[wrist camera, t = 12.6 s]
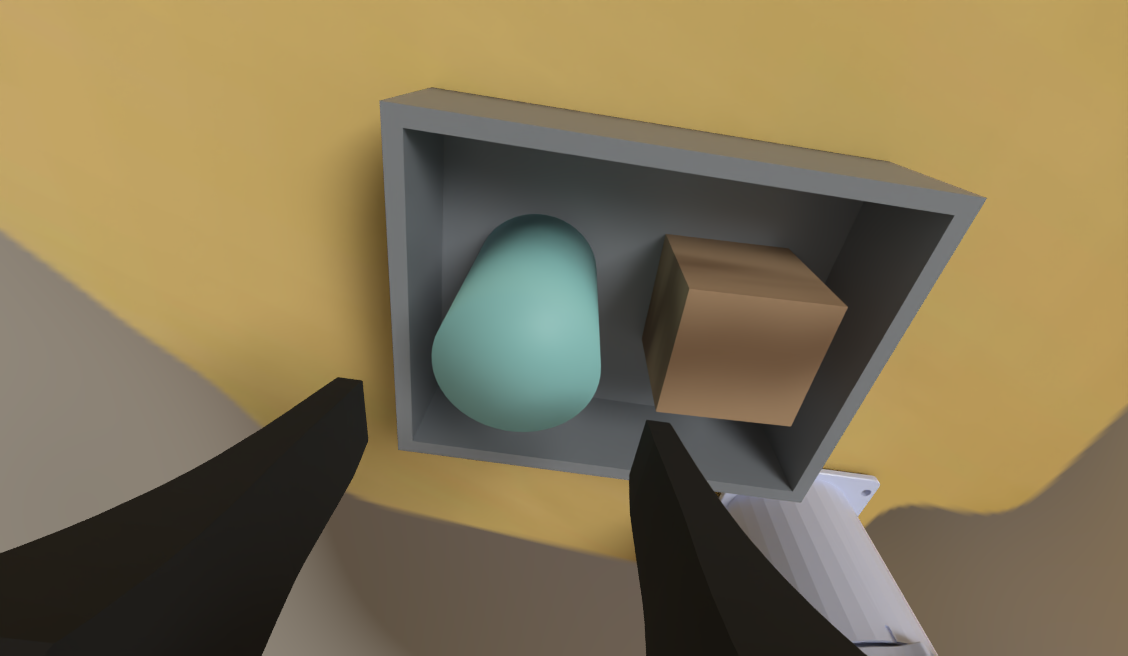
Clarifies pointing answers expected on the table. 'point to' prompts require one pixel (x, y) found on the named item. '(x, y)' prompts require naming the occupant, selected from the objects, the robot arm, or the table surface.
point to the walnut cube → (736, 330)
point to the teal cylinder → (523, 328)
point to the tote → (649, 267)
